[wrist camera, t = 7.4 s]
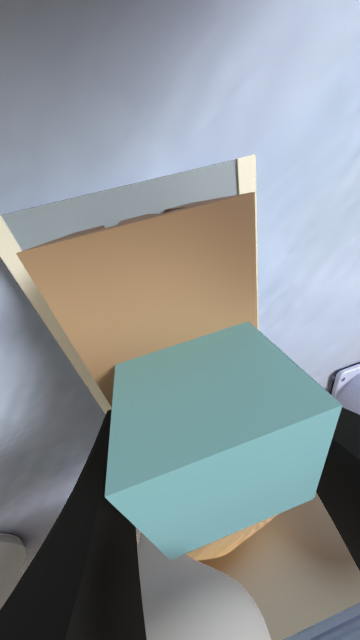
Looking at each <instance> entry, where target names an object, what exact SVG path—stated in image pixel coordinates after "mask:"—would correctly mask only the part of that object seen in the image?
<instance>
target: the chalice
mask: <svg viewBox="0 0 360 640" xmlns="http://www.w3.org/2000/svg"><path fill="white" fill-rule="evenodd" d="M137 553H138V564H139V575H140V585H141V595H142V605H143V613H144V622H145V630H146V639H147V640H271V638H270V635H269V632H268V630H267V627H266V624H265V621H264V619H263V616H262V614H261V612H260V611H259V609H258V607H257V605H256V604H255V602H254V600H253V598H252V596H251V595H250V594H249V593H248V592H247V591H246V590H245V589H244V587H243V586H242V585H241V584H240V583H239V582H237V581H235V580H234V579H233V578H231V577H229V576H228V575H226V574H225V573H223V572H220V571H218V570H216V569H214V568H212V567H210V566H207V565H205V564H203V563H200V562H198V561H196V560H194V559H192V558H190V557H188V556H186V555H185V554H183V555H181V556H179V557H176V558H174V559H172V560H170V559H169V558H168V557H167V556H166V555H165V554H164V553H162V552H161V551H160V550H159V549H158V548H157V547H156V546H155V545H154V544H153V543H152V542H151V541H150V540H149V539H148V538H147V537H146V536H145V535H144V534H143V533H142V532H141V535H140V541H139V544H138V547H137Z"/></svg>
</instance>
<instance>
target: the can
mask: <svg viewBox="0 0 360 640" xmlns="http://www.w3.org/2000/svg"><path fill="white" fill-rule="evenodd" d="M26 555H27V550H26V548H25V547H24V546H23V544H22V540H21V539H20V538H19V537H17V536H15V535H12V534H4V533H0V609H1V608H2V606H3V605H4V603H5V602H6V600H7V599H8V597H9V596H10V594H11V593H12V591H13V590H14V588H15V587H16V585H17V584H18V582H19V579H20V575H21V572H22V569H23V565H24V562H25V559H26Z"/></svg>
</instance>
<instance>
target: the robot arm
mask: <svg viewBox="0 0 360 640" xmlns="http://www.w3.org/2000/svg"><path fill="white" fill-rule="evenodd" d="M331 395H332V396H333V397H334V398H335V399H336V400H337V401H339V402H340V403H341V404H342V409H341V412H340V415H339V418H338V422H337V425H336V428H335V431H334V435H333V438H332V441H331V444H330V448H329V451H328V454H327V457H326V461H325V464H324V467H323V470H322V474H321V477H320V480H319V483H318V487H317V490H316V492H317V494H318V496H319V497H320V499H321V501H322V503H323V504H324V506H325V508H326V510H327V511H328V513H329V515H330V517H331V518H332V520H333V522H334V524H335V526H336V528H337V529H338V531H339V533H340V535H341V537H342V539H343V540H344V542H345V544H346V546H347V548H348V550H349V552H350V554H351V555H352V557H353V559H354V561H355V563H356V565H357V567H358V568H359V570H360V364H357V365H354V366H351V367H349V368H346V369H343V370H341V371H339V372H338V373H337V374H336V378H335V382H334V386H333V389H332V393H331ZM111 412H112V409H110V410H108V411H107V413H106V415H105V418H104V420H103V423H102V426H101V428H100V431H99V433H98V436H97V438H96V441H95V443H94V445H93V448H92V450H91V452H90V455H89V457H88V459H87V462H86V464H85V466H84V468H83V470H82V472H81V474H80V476H79V478H78V481H77V483H76V485H75V487H74V489H73V491H72V493H71V495H70V496H69V498H68V500H67V502H66V504H65V506H64V508H63V509H62V511H61V513H60V515H59V517H58V519H57V520H56V522H55V524H54V525H53V527H52V529H51V531H50V532H49V534H48V536H47V537H46V539H45V541H44V543H43V544H42V546H41V547H40V549H39V551H38V552H37V554H36V556H35V557H34V559H33V560H32V562H31V563H30V565H29V567H28V568H27V570H26V571H25V573H24V574H23V576H22V577H21V579H20V580H19V582H18V584H17V585H16V587H15V588H14V590H13V591H12V593H11V594H10V596H9V597H8V599H7V600H6V602H5V603H4V605H3V606H2V608H1V609H0V640H147V639H146V630H145V622H144V613H143V605H142V595H141V585H140V575H139V564H138V553H137V541H136V527H135V526H134V525H133V524H132V523H131V522H130V521H129V520H128V519H127V518H126V517H125V516H124V515H123V514H122V513H121V512H120V511H119V510H117V509H116V508H115V507H114V506H113V505H112V504H111V503H110V502H109V501H108V500H107V499H106V498H105V485H106V473H107V461H108V448H109V436H110V424H111ZM284 640H360V603H358V604H356V605H354V606H352V607H349V608H348V609H346V610H343V611H341V612H339V613H337V614H335V615H333V616H331V617H329V618H327V619H325V620H323V621H321V622H319V623H317V624H315V625H313V626H311V627H309V628H307V629H305V630H303V631H301V632H299V633H297V634H295V635H293V636H290V637H289V638H286V639H284Z"/></svg>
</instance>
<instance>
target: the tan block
mask: <svg viewBox="0 0 360 640" xmlns="http://www.w3.org/2000/svg"><path fill="white" fill-rule="evenodd" d="M16 254H17V256H18V258H19V259H20V261H21V263H22V264H23V266H24V267H25V269H26V271H27V272H28V274H29V275H30V277H31V279H32V280H33V282H34V283H35V285H36V287H37V288H38V290H39V291H40V293H41V295H42V296H43V298H44V300H45V301H46V303H47V304H48V306H49V308H50V309H51V311H52V312H53V314H54V316H55V317H56V319H57V320H58V322H59V324H60V325H61V327H62V329H63V330H64V332H65V333H66V335H67V337H68V338H69V340H70V341H71V343H72V345H73V346H74V348H75V349H76V351H77V353H78V354H79V356H80V357H81V359H82V361H83V362H84V364H85V366H86V367H87V369H88V370H89V372H90V374H91V375H92V377H93V378H94V380H95V382H96V383H97V385H98V386H99V388H100V390H101V391H102V393H103V395H104V396H105V398H106V399H107V401H108V403H109V404H110V406H111V407H112V400H113V387H114V375H115V365H116V364H119V363H122V362H125V361H128V360H131V359H134V358H137V357H140V356H143V355H146V354H149V353H153V352H156V351H159V350H162V349H165V348H168V347H171V346H174V345H177V344H180V343H183V342H186V341H189V340H192V339H195V338H198V337H201V336H204V335H207V334H210V333H213V332H217V331H220V330H223V329H226V328H229V327H232V326H235V325H238V324H241V323H244V322H247V321H249V322H250V323H251V324H252V325H253V326H254V327H255V328H257V329H258V327H257V277H256V228H255V192H250V193H245V194H239V195H233V196H228V197H222V198H216V199H210V200H205V201H199V202H193V203H189V204H185V205H181V206H177V207H173V208H169V209H165V213H162V214H145V215H142V216H138V217H134V218H130V219H126V220H122V221H120V222H119V223H118V224H117V225H115V226H111V227H108V228H105V226H104V225H102V226H98V227H94V228H91V229H87V230H83V231H79V232H75V233H72V234H69V235H66V236H64V237H61V238H58V239H55V240H52V241H49V242H46V243H44V244H41V245H38V246H35V247H32V248H29V249H27V250H24V251H21V252H18V253H16Z"/></svg>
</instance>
